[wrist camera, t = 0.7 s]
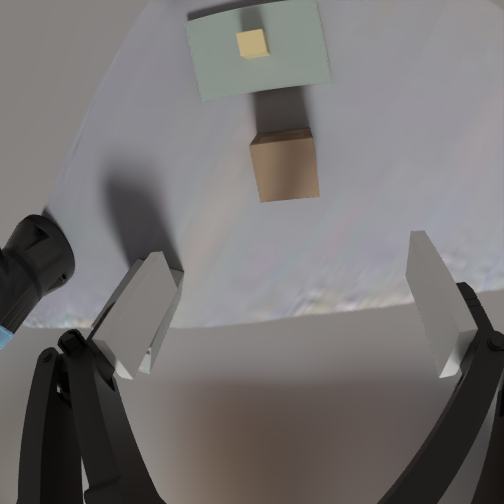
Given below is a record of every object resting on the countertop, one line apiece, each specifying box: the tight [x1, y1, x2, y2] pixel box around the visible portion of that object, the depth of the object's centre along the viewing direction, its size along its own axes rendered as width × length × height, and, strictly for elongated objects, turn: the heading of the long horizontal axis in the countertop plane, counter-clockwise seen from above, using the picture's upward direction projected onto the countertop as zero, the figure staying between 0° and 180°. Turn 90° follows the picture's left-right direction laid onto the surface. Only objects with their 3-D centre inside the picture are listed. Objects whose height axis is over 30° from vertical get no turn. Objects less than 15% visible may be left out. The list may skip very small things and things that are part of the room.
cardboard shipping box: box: [250, 128, 320, 203], centre depth 30 cm, size 6×6×6 cm
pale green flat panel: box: [184, 0, 332, 102], centre depth 24 cm, size 14×10×6 cm
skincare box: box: [91, 259, 184, 374], centre depth 39 cm, size 8×7×16 cm
